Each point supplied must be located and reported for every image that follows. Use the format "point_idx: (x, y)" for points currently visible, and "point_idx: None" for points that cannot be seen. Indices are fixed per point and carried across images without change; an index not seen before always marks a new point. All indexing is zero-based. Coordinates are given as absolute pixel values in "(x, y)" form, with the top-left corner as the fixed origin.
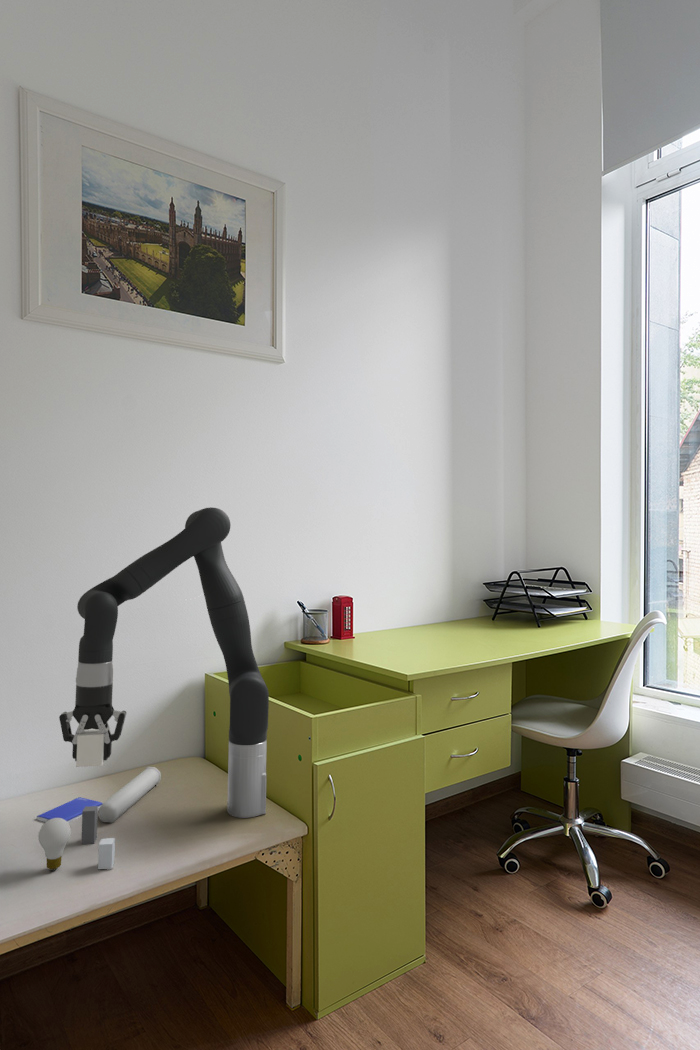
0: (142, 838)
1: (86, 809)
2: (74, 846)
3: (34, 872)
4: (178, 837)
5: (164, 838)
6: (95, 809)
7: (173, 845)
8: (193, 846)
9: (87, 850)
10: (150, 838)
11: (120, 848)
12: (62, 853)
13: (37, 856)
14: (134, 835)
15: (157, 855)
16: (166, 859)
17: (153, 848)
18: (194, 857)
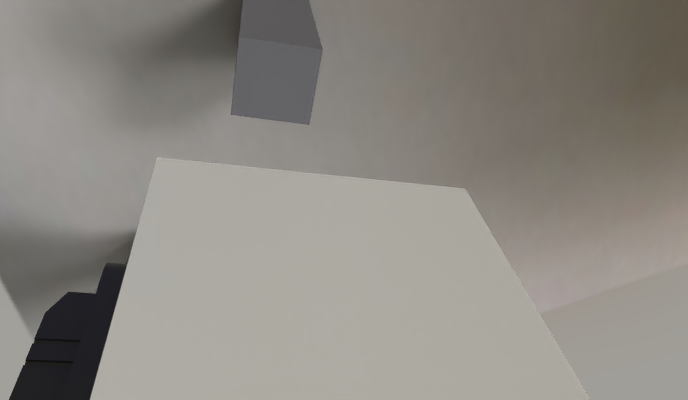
0: (519, 64)
1: (254, 90)
2: (206, 63)
3: (87, 252)
4: (664, 98)
5: (608, 92)
6: (311, 104)
7: (620, 165)
8: (685, 192)
9: (273, 121)
10: (552, 75)
11: (414, 138)
12: None
13: (49, 122)
14: (490, 19)
15: (542, 228)
16: (563, 262)
17: (541, 171)
18: (654, 268)
